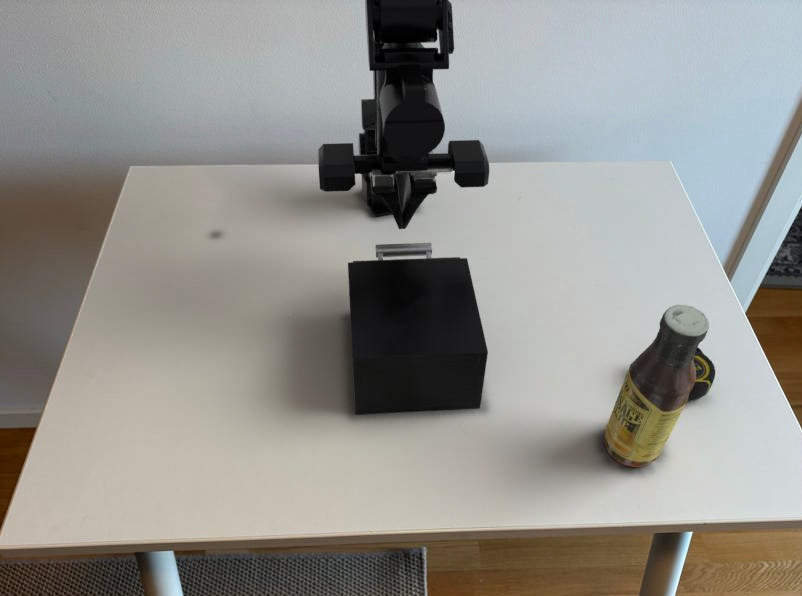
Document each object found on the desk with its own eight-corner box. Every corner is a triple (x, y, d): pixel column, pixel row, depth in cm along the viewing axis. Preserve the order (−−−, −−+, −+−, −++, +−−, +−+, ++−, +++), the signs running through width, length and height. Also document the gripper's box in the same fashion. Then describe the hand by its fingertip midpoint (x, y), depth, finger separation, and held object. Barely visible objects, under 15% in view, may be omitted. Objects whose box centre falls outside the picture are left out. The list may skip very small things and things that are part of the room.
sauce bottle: (595, 426, 83) (639, 291, 68) (650, 423, 83) (705, 289, 69) (610, 475, 78) (661, 342, 64) (668, 472, 79) (731, 339, 64)
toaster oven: (350, 319, 94) (347, 262, 87) (461, 314, 95) (467, 257, 88) (355, 414, 83) (352, 358, 76) (480, 408, 84) (488, 352, 78)
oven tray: (353, 281, 97) (351, 236, 92) (451, 277, 98) (454, 232, 93) (359, 392, 84) (357, 347, 79) (472, 386, 85) (478, 341, 80)
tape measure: (691, 361, 90) (701, 339, 87) (717, 403, 86) (728, 382, 83) (638, 367, 89) (646, 345, 86) (661, 411, 85) (671, 389, 82)
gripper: (480, 68, 84) (469, 186, 96) (314, 71, 83) (323, 191, 94) (496, 118, 77) (482, 239, 88) (314, 122, 75) (324, 245, 86)
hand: (401, 226), depth 89 cm, fingers closed
